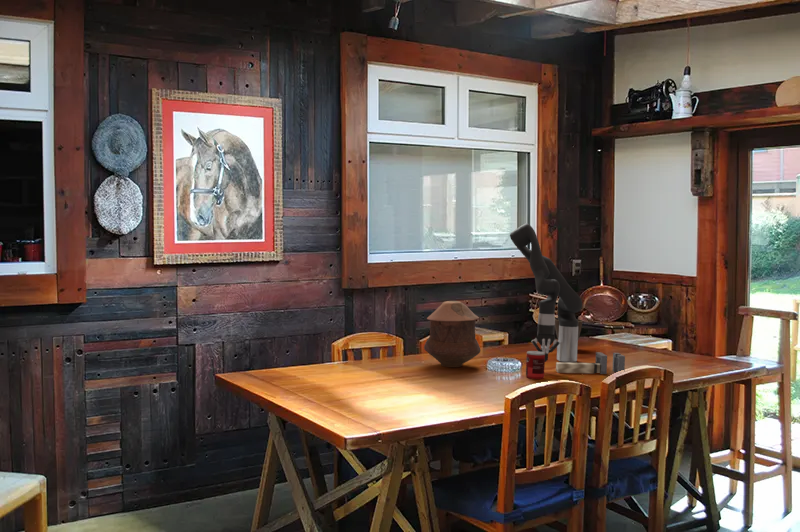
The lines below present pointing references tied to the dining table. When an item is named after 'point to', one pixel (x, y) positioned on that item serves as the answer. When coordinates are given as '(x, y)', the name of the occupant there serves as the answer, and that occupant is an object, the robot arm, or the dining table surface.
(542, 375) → the canned food
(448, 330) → the pottery vessel
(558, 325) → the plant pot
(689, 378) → the dining table surface
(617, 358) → the iron collars
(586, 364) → the ash bar
